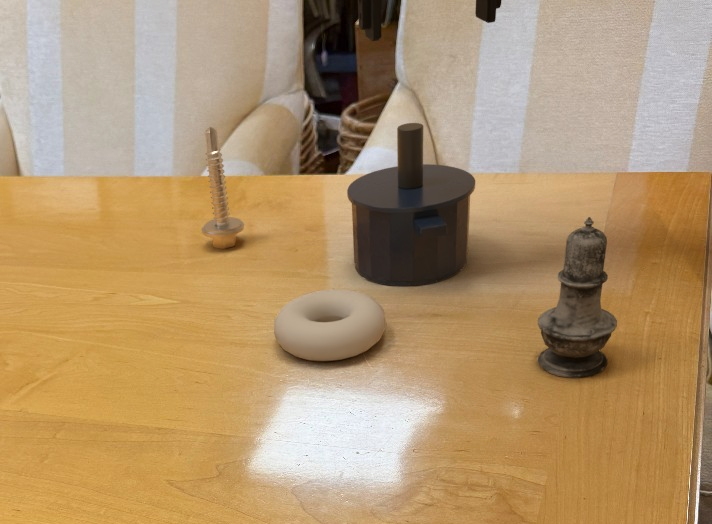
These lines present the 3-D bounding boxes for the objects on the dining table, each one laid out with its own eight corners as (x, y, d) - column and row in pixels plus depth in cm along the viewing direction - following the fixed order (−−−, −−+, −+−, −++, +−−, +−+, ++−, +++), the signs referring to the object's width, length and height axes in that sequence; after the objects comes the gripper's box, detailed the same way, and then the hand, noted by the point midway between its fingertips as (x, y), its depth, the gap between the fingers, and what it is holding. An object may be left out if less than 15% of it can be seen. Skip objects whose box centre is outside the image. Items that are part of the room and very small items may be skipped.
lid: (453, 167, 94) (455, 100, 90) (492, 206, 84) (496, 133, 80) (336, 186, 94) (333, 120, 90) (362, 227, 84) (359, 155, 80)
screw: (201, 254, 103) (207, 237, 106) (243, 251, 102) (248, 235, 105) (183, 135, 95) (191, 122, 99) (229, 131, 94) (235, 118, 98)
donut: (252, 349, 83) (333, 379, 76) (248, 314, 81) (331, 342, 74) (327, 308, 88) (410, 333, 81) (325, 274, 86) (409, 297, 79)
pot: (441, 226, 100) (442, 156, 95) (491, 286, 87) (495, 209, 82) (340, 242, 100) (337, 173, 96) (374, 305, 87) (372, 228, 82)
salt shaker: (577, 387, 71) (596, 239, 64) (518, 362, 75) (529, 220, 68) (627, 360, 73) (651, 214, 66) (567, 337, 77) (583, 197, 70)
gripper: (529, -242, 70) (513, 6, 80) (307, -207, 70) (320, 37, 80) (569, -249, 64) (546, 20, 74) (326, -211, 64) (337, 53, 74)
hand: (429, 28), depth 77 cm, fingers open, 9 cm apart
